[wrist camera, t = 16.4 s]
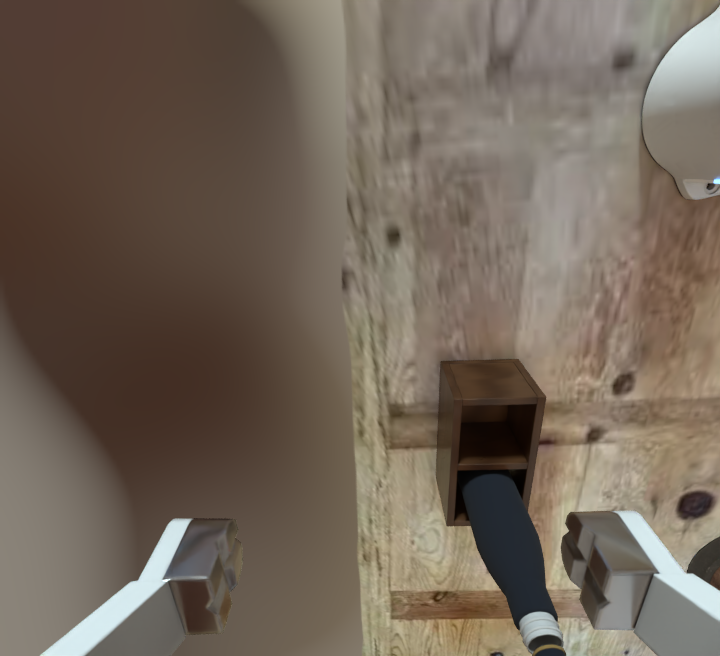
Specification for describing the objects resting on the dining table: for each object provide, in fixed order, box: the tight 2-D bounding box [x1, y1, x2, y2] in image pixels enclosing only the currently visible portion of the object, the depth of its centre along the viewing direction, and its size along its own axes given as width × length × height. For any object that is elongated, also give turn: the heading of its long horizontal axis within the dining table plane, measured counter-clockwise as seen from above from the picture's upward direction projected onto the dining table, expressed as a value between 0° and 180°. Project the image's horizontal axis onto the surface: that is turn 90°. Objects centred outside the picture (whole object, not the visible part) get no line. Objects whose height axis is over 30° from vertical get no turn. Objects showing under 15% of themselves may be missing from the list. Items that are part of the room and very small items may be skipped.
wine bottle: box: [457, 469, 566, 656], centre depth 43 cm, size 6×6×30 cm
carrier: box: [436, 359, 546, 526], centre depth 52 cm, size 10×19×9 cm, turn 2°
